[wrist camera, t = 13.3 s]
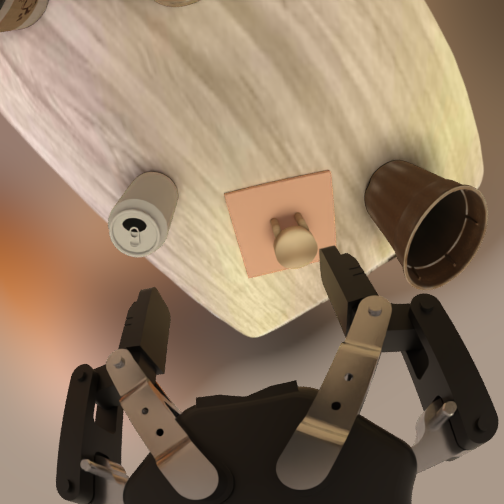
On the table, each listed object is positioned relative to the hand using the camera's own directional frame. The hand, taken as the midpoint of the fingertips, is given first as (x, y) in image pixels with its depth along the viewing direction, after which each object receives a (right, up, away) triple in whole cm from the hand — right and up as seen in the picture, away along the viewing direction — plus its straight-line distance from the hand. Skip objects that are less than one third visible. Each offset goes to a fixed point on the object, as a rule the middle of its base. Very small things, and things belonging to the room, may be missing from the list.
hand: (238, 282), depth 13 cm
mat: (+6, +6, +31) cm, 32 cm away
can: (-14, +10, +26) cm, 31 cm away
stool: (+6, +5, +31) cm, 32 cm away
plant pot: (+25, +12, +30) cm, 41 cm away
